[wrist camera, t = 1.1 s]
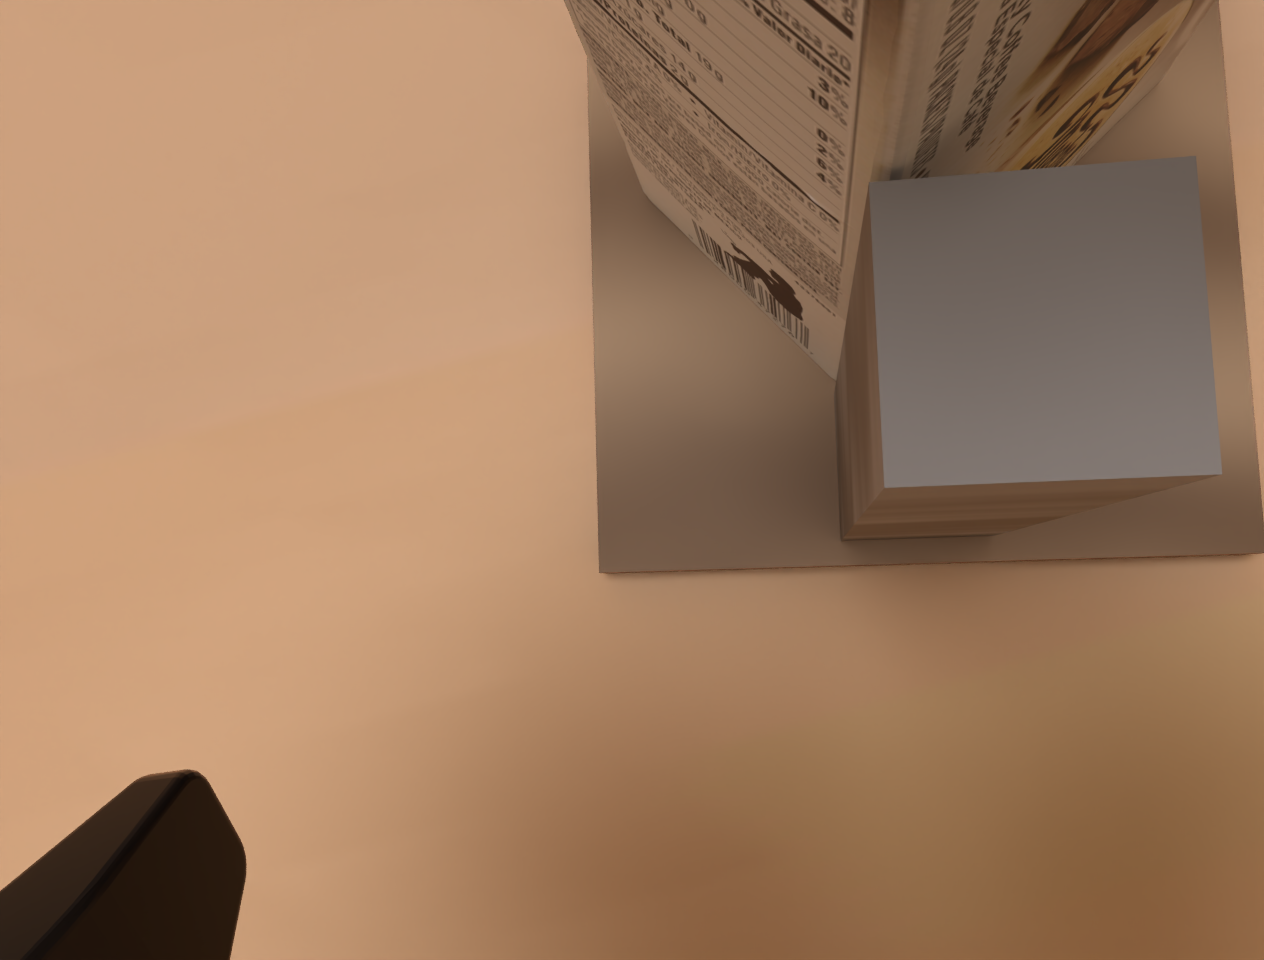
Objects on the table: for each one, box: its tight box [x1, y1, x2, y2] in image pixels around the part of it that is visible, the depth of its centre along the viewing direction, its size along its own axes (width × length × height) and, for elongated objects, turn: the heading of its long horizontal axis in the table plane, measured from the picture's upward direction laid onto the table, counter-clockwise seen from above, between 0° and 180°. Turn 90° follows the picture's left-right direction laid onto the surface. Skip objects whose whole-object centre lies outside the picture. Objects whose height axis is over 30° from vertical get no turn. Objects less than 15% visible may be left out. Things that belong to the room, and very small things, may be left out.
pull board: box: [587, 0, 1264, 573], centre depth 17 cm, size 15×13×13 cm
